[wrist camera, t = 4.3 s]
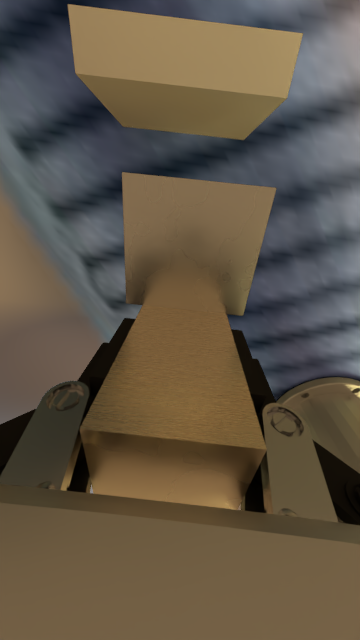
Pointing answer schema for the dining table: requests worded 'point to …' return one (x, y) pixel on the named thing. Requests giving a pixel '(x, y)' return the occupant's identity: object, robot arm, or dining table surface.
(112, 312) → the dining table surface
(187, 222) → the beige boxy piece
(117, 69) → the block
